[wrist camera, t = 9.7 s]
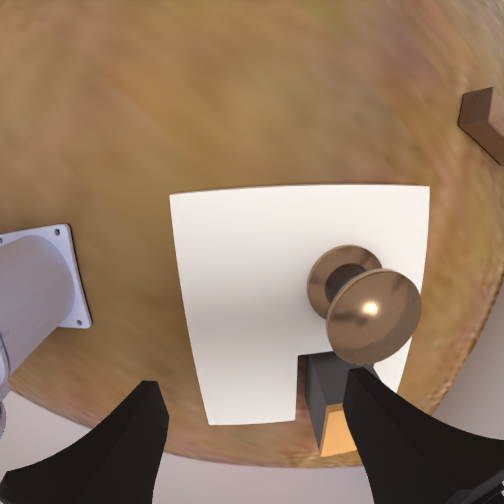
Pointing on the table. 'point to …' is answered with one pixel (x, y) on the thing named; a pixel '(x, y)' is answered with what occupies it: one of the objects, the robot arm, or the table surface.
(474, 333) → the table surface
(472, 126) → the wooden block
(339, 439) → the grey and orange block
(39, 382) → the table surface
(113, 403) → the table surface
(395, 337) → the bronze knob
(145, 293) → the table surface
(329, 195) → the notched board
